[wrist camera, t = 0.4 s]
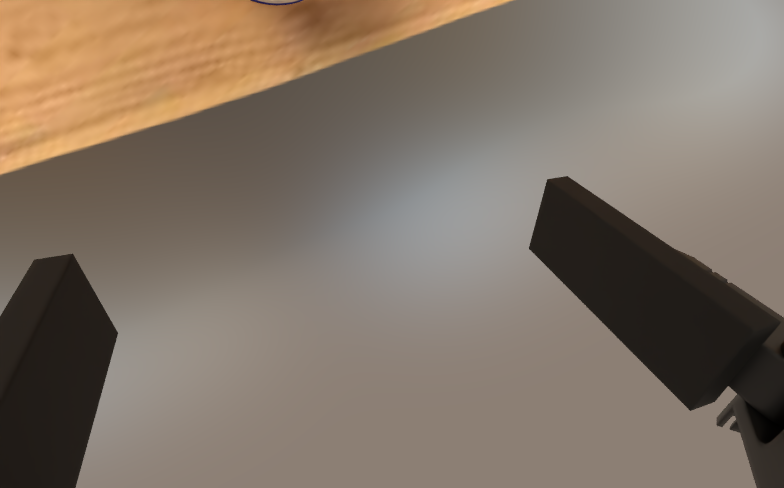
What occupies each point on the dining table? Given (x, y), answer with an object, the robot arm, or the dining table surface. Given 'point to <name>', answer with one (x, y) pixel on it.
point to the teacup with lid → (277, 2)
